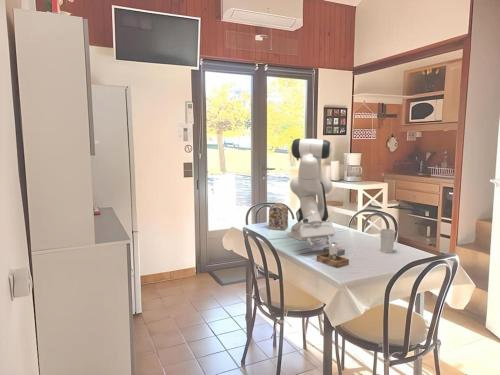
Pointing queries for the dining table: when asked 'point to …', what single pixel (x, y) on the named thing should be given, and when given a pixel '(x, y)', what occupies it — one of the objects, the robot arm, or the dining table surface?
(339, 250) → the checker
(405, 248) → the dining table surface
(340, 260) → the brown wooden shallow tray
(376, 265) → the dining table surface
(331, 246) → the steel cell
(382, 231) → the cup
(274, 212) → the decorative jar
